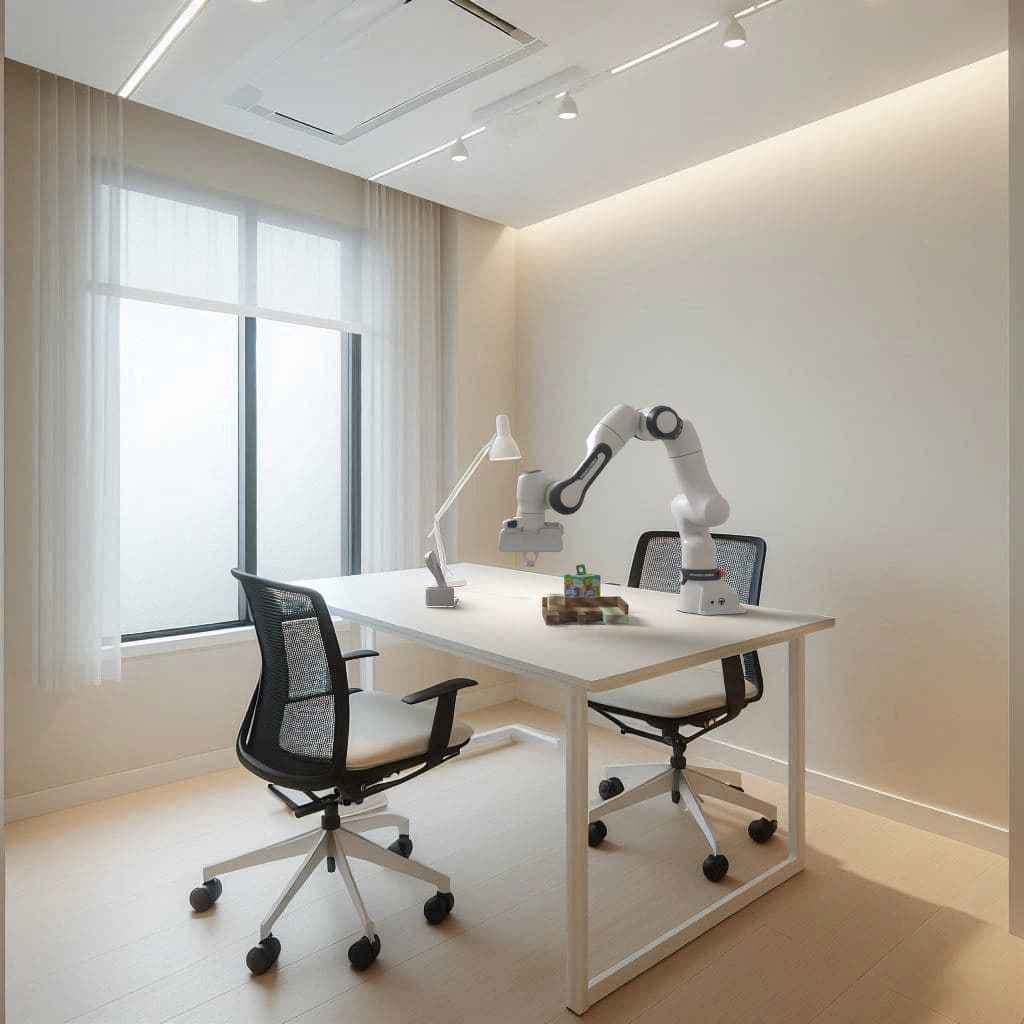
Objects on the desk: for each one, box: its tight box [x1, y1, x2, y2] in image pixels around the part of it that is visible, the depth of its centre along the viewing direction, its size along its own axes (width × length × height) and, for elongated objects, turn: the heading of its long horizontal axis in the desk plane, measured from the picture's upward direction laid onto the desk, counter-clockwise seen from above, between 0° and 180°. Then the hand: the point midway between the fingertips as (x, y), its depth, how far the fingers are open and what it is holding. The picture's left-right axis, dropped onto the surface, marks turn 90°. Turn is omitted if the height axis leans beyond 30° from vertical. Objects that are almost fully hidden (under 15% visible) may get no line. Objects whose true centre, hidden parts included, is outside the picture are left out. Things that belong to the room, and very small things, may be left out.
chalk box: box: [563, 563, 601, 597], centre depth 260 cm, size 9×9×15 cm
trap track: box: [541, 595, 630, 626], centre depth 241 cm, size 25×15×6 cm, turn 92°
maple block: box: [547, 592, 565, 611], centre depth 243 cm, size 5×5×4 cm
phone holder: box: [424, 550, 459, 606], centre depth 270 cm, size 17×10×18 cm, turn 179°
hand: (530, 566), depth 242 cm, fingers closed
